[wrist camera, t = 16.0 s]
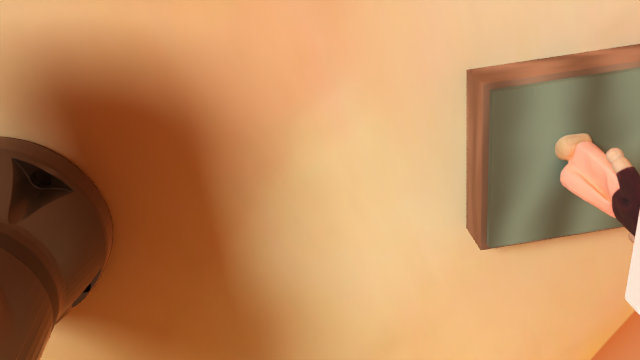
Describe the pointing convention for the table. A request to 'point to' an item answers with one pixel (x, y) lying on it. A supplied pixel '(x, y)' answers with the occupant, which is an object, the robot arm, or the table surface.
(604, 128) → the sage green square panel
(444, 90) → the table surface
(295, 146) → the table surface
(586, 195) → the grandmother figurine
